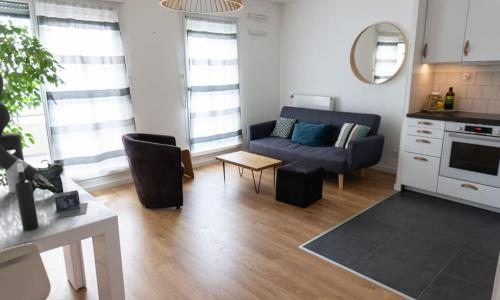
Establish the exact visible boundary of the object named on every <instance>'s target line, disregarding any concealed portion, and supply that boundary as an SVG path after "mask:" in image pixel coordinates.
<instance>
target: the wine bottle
mask: <svg viewBox="0 0 500 300" xmlns="http://www.w3.org/2000/svg"><path fill="white" fill-rule="evenodd" d="M17 170H18V174H19V179H20V181H19V182H17V183H16V185H15V188H16V193H15V194H16V197H17V198H16V199H17V203H18V209H19V213H20V219H21V225H22V230H23V231H24V232H32V231H35V230H38V228H39V227H40V226H39V220H38V214H37V207H36V203H35V197H34V196H33V190H32V184H31V182H30V181H28V180H25V175H24V168H23V163H22V164H21V163H19V164H17Z"/></svg>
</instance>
